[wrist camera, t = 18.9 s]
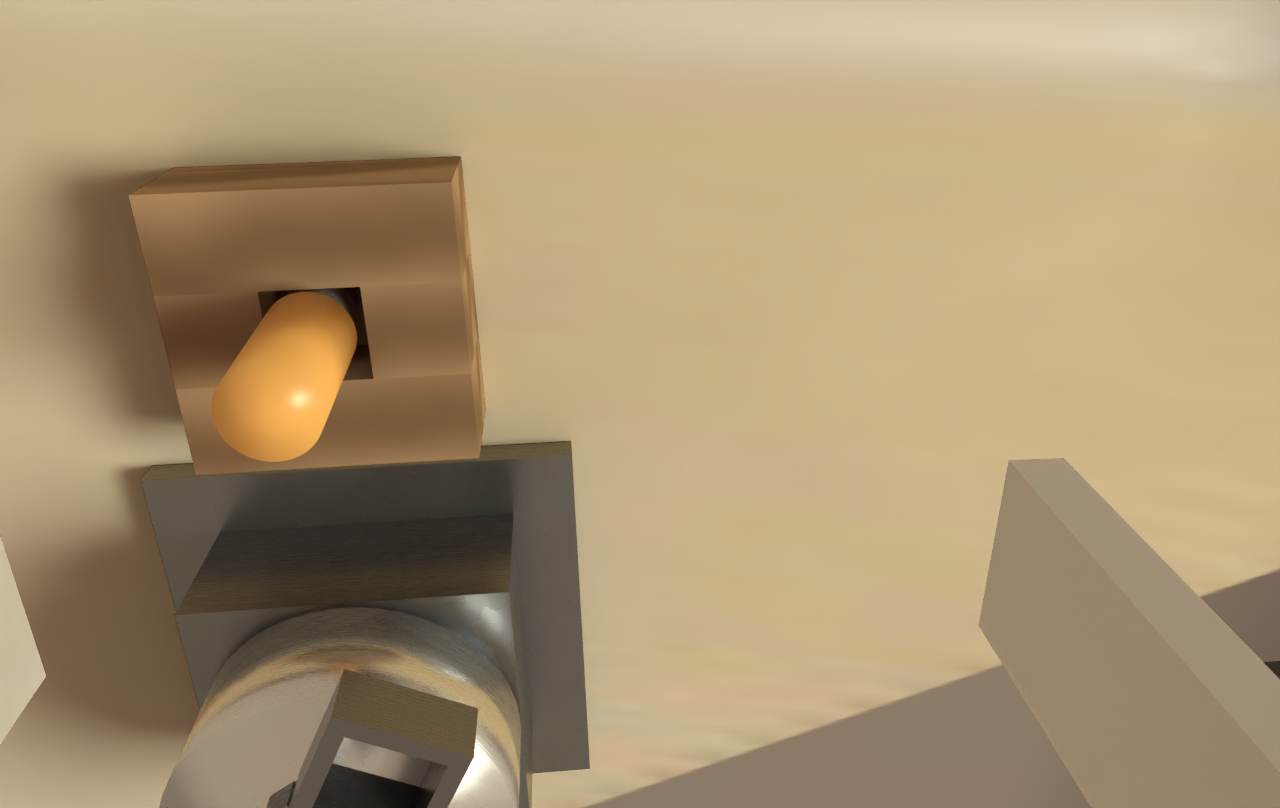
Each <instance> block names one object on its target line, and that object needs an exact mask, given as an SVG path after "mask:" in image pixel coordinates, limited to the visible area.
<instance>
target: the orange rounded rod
mask: <svg viewBox="0 0 1280 808" xmlns="http://www.w3.org/2000/svg"><path fill="white" fill-rule="evenodd" d="M360 299H361V290H360V287H346V288H324V289H303V290H300V291H299V292H297V293H292V294H289V295H286V296H284V297H282V298H281V299H279V300H278V301H276V302H275V303H274V304H273V305H272V306H271V307H270V309H269V310H268V312H267V313H266V315H265V316H264V318H263V319H262V320H261V322H260V323H259V325H258V326H257V328H256V329H255V331H254V332H253V334H252V335H251V337H250V338H249V340H248V341H247V343H246V344H245V346H244V347H243V349H242V350H241V352H240V353H239V355H238V356H237V358H236V359H235V361H234V362H233V363H232V365H231V366H230V368H229V369H228V371H227V372H226V374H225V375H224V377H223V378H222V380H221V381H220V383H219V384H218V386H217V387H216V389H215V391H214V393H213V396H212V400H211V415H212V420H213V423H214V426H215V428H216V429H217V431H218V433H219V434H220V436H221V437H222V438H223V440H224V441H225V442H226V443H227V444H228V445H230V446H231V447H232V448H233V449H235V450H236V451H237V452H239V453H241V454H243V455H245V456H247V457H250V458H253V459H256V460H260V461H267V462H281V461H287V460H291V459H294V458H296V457H299V456H301V455H302V454H304V453H306V452H307V451H308V450H310V449H311V448H312V447H313V446H314V445H315V443H316V442H317V440H318V439H319V437H320V435H321V433H322V430H323V428H324V426H325V423H326V421H327V418H328V416H329V413H330V411H331V408H332V406H333V404H334V401H335V399H336V396H337V394H338V391H339V389H340V386H341V384H342V382H343V379H344V377H345V374H346V372H347V369H348V367H349V364H350V362H351V360H352V357H353V355H354V352H355V349H356V345H357V332H356V328H355V325H354V322H353V320H352V319H353V316H354V314H355V312H356V310H357V307H358V305H359V303H360Z"/></svg>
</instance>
